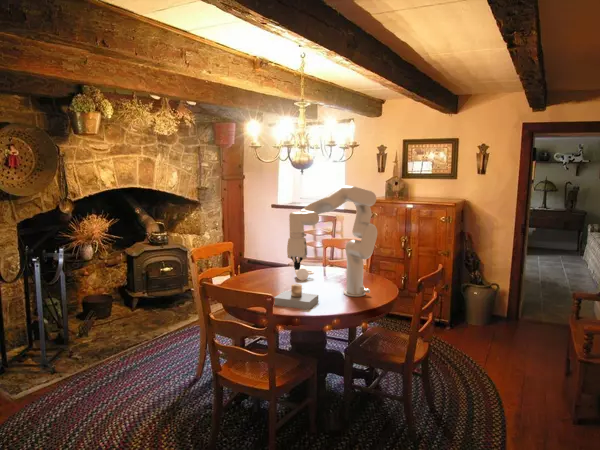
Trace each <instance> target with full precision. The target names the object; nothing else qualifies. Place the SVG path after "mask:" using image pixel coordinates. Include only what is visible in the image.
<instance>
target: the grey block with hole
mask: <svg viewBox="0 0 600 450" xmlns="http://www.w3.org/2000/svg"><path fill="white" fill-rule="evenodd" d="M274 298H275V305H274V306H280V307H288V308H295V309H301V310H308V311H309V310H310V309H312V308H313V307H315V305H317V304H318V303H319V294H313V293H307V292H306V293H305V292H304V293H303V292H302V297H300V298H293V297H291V291H290V290H284V291H282V292H281V293H279V294H277V295H276V296H273V299H274Z"/></svg>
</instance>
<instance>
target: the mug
mask: <svg viewBox="0 0 600 450" xmlns="http://www.w3.org/2000/svg"><path fill="white" fill-rule="evenodd" d="M294 273H295V277H296V278H297V279H298V280H299V281H305V280H307V279H308V278H309V275H314V274H315V271H314V270H309V269H307V267H306V265H302V264H300V269H299V270H295V269H294Z"/></svg>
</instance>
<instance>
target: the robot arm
mask: <svg viewBox="0 0 600 450" xmlns="http://www.w3.org/2000/svg"><path fill="white" fill-rule="evenodd" d="M346 202H351V203H353V204H354V207H355V209H356V215H355V219H354V222H353V227H352V235H353V236H354V237H355V238H358V239H359V240H358V239H350V240H349V241H348V242H347V243H346V244H345V255H346V282H345V283H346V287H345V288H346V289H344V290H343V294H344V295H345V296H348V297H353V298H354V297H363V296H365V295H366V293H367V294H370V293H371V289H370V288H365V285H364V260H369V259H370V258H371V256H372V255H373V253H374V249H375V245H376V242H377V238H378V228H377V226H376V225H375V224H373V223H371V218H372V209H371V207H372V206H374V205H375V204H376V202H377V195H376V194H375V192H374V191H372V190H368V189H365V188H361V187H357V186H352V185H343V186H339V187H338V188H337V189H336V190H334V191H332V192H330V194H328V195H326V196H325V197H322V198H320V199H318V200H316V201H314V202H312V203H310V204H308V205H306V206H305V207H303V208H302V209H301V210H299V211H292V212H290V213H289V218H288V220H289V221H288V222H289V237H288V239H287V249H286V250H287V251H286V253H287V259H290V260H291V261H292V263H293V268H294V271H295V270H299V269H300V265H301V262H302V261H303V260H307V258H308V257H307V256H308V245H307V244H308V243H307V239H306V237H307V233H305V226H315V225H317V224H318V223H319V220H320V216H319V215H320V214H324V213H330V212H333V211H335V210H336V209H338V208H339V207H341V206H342V205H344V204H345V203H346Z"/></svg>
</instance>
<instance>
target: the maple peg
mask: <svg viewBox="0 0 600 450" xmlns="http://www.w3.org/2000/svg"><path fill="white" fill-rule="evenodd" d="M290 287H291V288H290V289H291V291H290V292H291V297H293V298H300V297H302V293H303V285H302V284H300V283H293V284H291V285H290Z"/></svg>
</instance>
